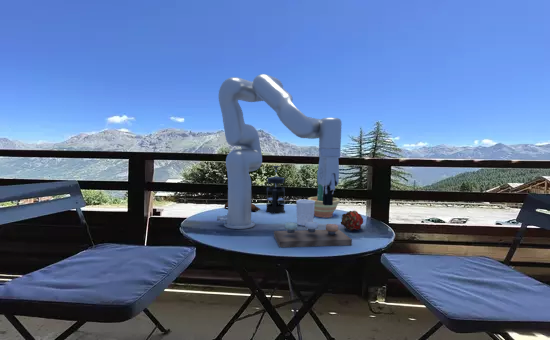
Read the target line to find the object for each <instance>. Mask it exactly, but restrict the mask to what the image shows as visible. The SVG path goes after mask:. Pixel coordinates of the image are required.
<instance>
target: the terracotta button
mask: <svg viewBox="0 0 550 340" xmlns="http://www.w3.org/2000/svg"><path fill="white" fill-rule="evenodd" d="M338 229H339V225H338V224H335V223H328V224H325V230H327V231H328V234H330V235H335V232H336V231H338Z"/></svg>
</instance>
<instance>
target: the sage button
mask: <svg viewBox="0 0 550 340" xmlns="http://www.w3.org/2000/svg"><path fill="white" fill-rule="evenodd" d="M284 229H285V230H286V231H287V232H288V233H294V232H295V231H296V230H298V224H297V222H293V221H288V222H285V223H284Z"/></svg>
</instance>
